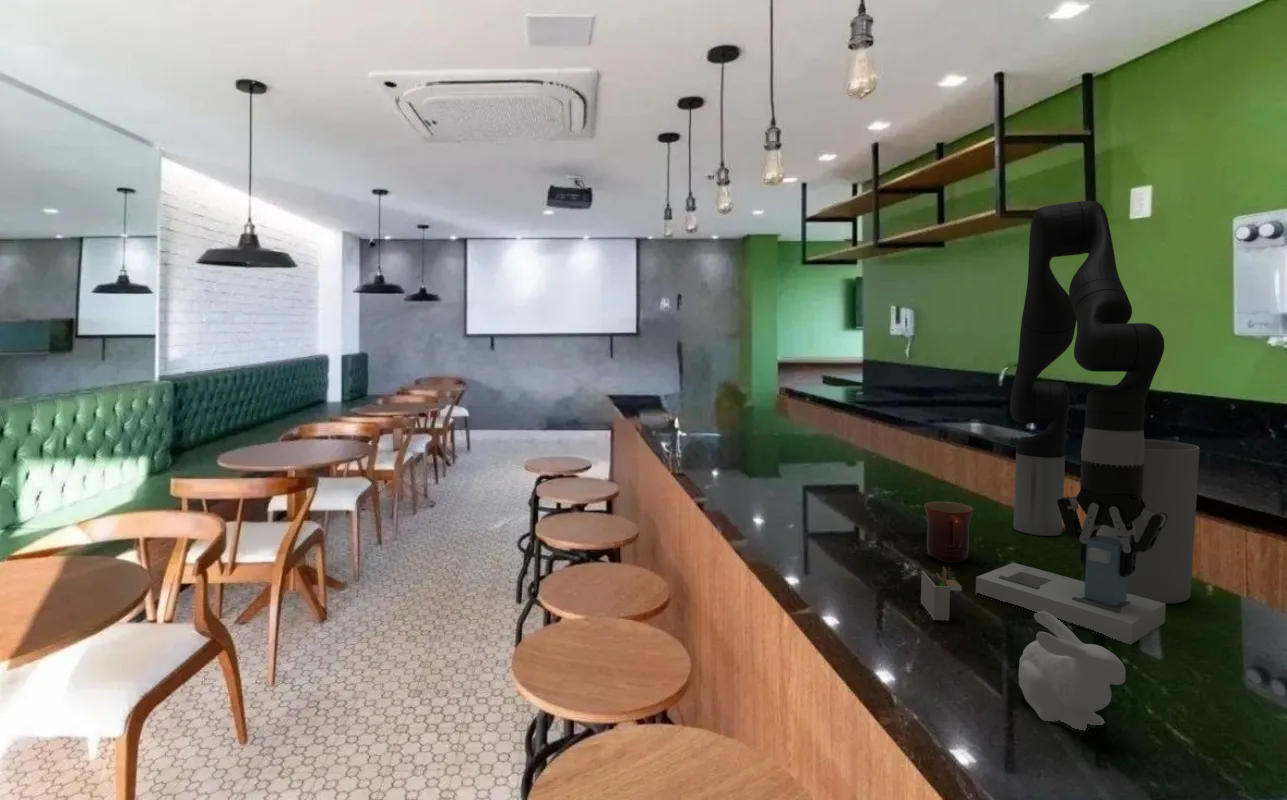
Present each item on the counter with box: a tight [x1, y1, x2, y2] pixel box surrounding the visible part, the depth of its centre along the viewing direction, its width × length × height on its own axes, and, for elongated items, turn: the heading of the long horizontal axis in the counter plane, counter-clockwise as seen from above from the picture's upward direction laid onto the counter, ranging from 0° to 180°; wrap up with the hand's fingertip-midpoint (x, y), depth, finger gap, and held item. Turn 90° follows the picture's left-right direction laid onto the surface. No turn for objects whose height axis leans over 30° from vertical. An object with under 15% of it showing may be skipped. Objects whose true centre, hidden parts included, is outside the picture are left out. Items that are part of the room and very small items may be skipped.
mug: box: [923, 501, 974, 562], centre depth 123 cm, size 12×9×10 cm
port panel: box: [975, 562, 1167, 645], centre depth 101 cm, size 12×22×3 cm, turn 33°
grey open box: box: [920, 566, 963, 621], centre depth 100 cm, size 4×7×8 cm, turn 172°
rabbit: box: [1018, 611, 1127, 731], centre depth 73 cm, size 12×9×12 cm
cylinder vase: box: [1098, 438, 1200, 605], centre depth 106 cm, size 12×12×25 cm
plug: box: [1084, 534, 1128, 606], centre depth 95 cm, size 5×4×9 cm
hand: (1106, 570), depth 96 cm, fingers closed on plug, 4 cm apart
